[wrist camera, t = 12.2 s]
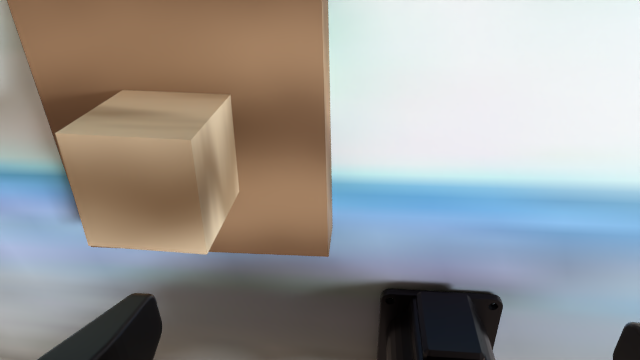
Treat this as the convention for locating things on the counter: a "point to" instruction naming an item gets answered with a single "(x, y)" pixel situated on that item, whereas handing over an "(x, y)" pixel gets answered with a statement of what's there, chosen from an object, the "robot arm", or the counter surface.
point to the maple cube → (153, 170)
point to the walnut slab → (210, 78)
